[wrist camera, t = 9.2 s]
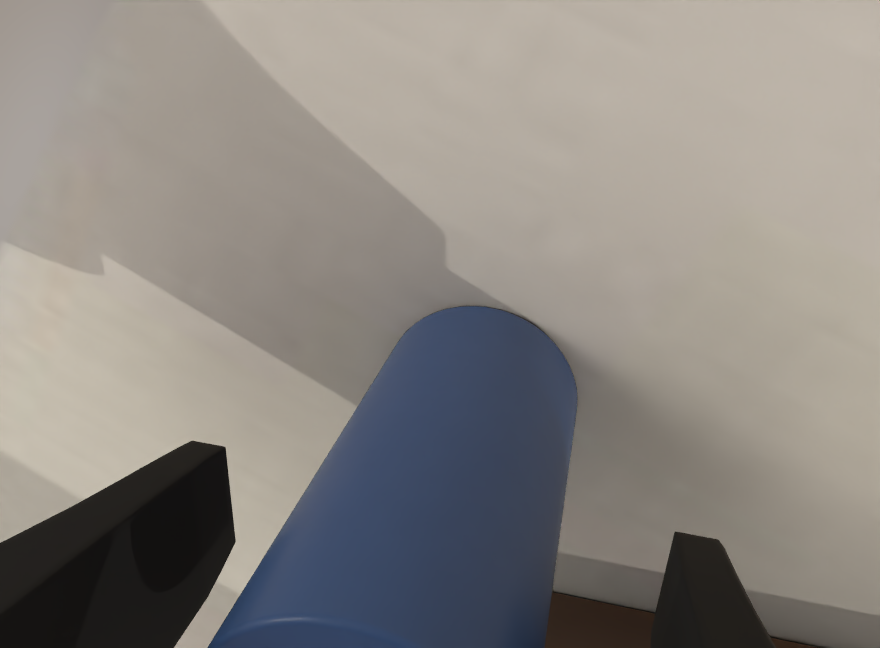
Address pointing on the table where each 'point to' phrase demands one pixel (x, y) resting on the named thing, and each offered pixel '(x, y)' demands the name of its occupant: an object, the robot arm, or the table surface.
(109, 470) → the table surface
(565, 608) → the peg board
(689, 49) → the table surface
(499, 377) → the peg
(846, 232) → the table surface
